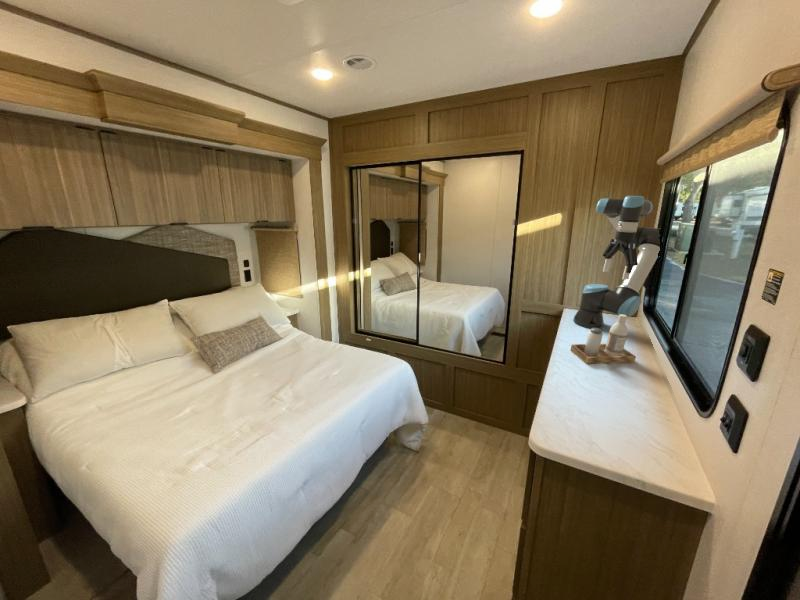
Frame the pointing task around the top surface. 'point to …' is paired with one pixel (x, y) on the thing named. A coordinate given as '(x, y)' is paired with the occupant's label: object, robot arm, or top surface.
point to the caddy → (602, 355)
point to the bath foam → (617, 337)
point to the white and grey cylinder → (593, 342)
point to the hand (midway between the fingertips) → (615, 275)
